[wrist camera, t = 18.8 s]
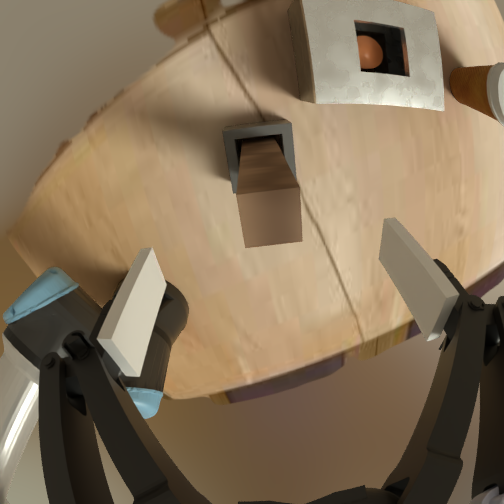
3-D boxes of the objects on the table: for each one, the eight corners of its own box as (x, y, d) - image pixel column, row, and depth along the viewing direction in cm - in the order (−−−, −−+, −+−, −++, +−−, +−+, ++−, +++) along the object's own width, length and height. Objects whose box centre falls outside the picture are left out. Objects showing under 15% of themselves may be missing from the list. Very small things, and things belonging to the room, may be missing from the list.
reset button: (340, 69, 28) (351, 67, 24) (337, 39, 25) (347, 33, 22) (371, 70, 27) (384, 70, 24) (367, 41, 25) (380, 37, 21)
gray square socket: (234, 182, 37) (233, 193, 34) (225, 127, 33) (222, 131, 29) (292, 176, 36) (296, 185, 33) (286, 119, 32) (291, 123, 29)
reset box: (300, 100, 31) (316, 103, 23) (287, 11, 23) (299, -11, 16) (407, 102, 30) (444, 111, 22) (398, 21, 22) (433, 12, 15)
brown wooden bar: (246, 167, 36) (245, 248, 19) (242, 139, 34) (236, 194, 17) (276, 164, 36) (302, 241, 19) (273, 135, 33) (299, 187, 17)
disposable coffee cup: (473, 122, 29) (523, 142, 19) (437, 97, 28) (490, 111, 18) (483, 76, 24) (533, 87, 14) (446, 48, 23) (499, 49, 13)
